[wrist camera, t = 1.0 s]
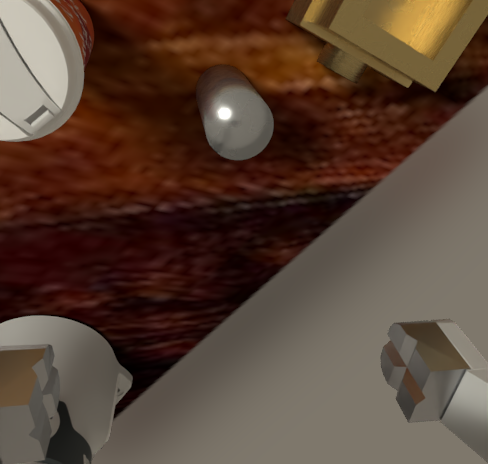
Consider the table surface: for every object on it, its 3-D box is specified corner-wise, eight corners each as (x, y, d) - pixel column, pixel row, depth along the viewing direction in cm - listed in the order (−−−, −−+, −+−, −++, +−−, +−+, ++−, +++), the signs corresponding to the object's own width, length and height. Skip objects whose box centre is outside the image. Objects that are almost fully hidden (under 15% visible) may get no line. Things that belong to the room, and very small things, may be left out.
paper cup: (132, 42, 32) (115, 86, 20) (56, 104, 33) (-1, 179, 22) (49, -64, 28) (-32, -86, 16) (-34, 12, 29) (-163, 43, 18)
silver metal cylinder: (234, 128, 37) (254, 169, 29) (186, 106, 35) (194, 144, 28) (258, 79, 35) (285, 110, 27) (209, 54, 33) (223, 79, 26)
